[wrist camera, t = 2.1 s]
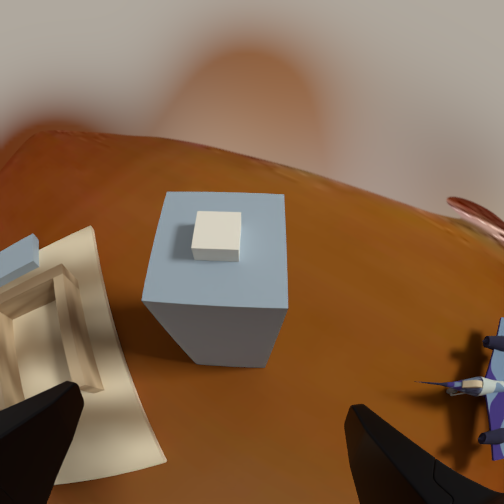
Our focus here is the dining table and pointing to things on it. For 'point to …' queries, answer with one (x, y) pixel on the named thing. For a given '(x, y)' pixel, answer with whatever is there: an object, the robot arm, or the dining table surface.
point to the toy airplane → (488, 392)
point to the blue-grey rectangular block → (220, 275)
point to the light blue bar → (19, 259)
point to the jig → (74, 359)
